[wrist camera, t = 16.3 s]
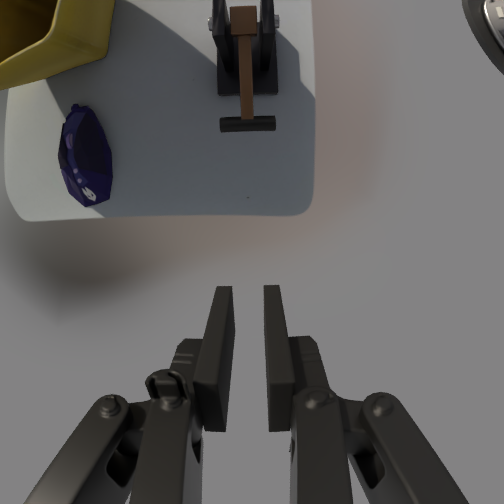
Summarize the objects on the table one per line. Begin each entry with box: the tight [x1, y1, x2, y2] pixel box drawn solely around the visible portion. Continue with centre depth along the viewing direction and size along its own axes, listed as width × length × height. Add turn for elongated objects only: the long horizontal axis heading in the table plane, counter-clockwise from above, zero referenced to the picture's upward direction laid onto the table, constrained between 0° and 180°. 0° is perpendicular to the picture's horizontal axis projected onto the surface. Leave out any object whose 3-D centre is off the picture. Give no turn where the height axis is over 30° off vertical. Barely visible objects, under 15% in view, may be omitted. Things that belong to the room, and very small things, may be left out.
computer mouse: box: [58, 104, 113, 207], centre depth 30 cm, size 9×15×4 cm, turn 10°
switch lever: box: [220, 6, 276, 133], centre depth 21 cm, size 12×5×2 cm, turn 2°
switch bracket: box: [208, 0, 279, 96], centre depth 23 cm, size 10×7×13 cm
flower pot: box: [0, 0, 115, 90], centre depth 18 cm, size 19×19×17 cm
